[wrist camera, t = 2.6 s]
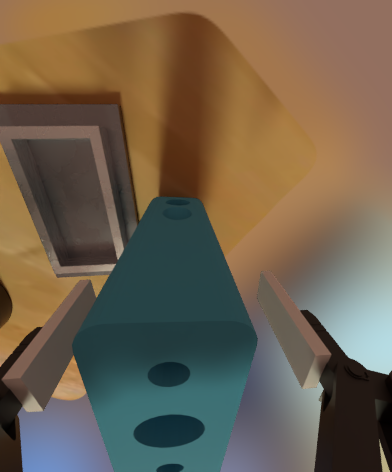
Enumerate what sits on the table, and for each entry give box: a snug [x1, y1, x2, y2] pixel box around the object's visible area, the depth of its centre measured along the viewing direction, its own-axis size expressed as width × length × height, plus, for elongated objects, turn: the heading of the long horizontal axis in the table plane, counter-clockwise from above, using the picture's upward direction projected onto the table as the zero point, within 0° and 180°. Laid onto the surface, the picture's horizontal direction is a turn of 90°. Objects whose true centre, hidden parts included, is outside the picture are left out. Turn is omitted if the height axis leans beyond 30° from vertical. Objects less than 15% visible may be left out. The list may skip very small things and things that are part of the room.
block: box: [72, 197, 258, 472], centre depth 16 cm, size 12×5×20 cm, turn 177°
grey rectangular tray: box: [0, 104, 139, 278], centre depth 21 cm, size 12×20×3 cm, turn 1°
